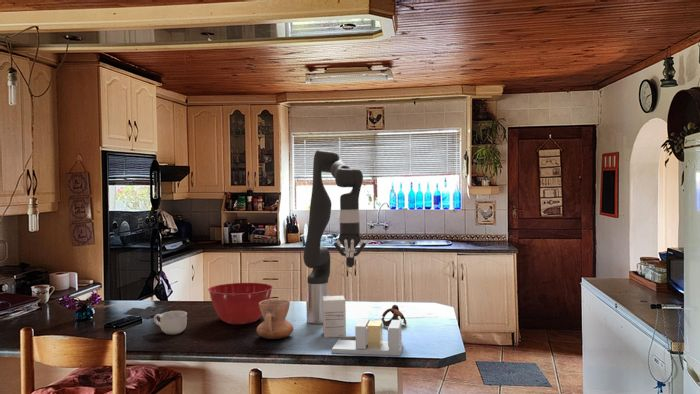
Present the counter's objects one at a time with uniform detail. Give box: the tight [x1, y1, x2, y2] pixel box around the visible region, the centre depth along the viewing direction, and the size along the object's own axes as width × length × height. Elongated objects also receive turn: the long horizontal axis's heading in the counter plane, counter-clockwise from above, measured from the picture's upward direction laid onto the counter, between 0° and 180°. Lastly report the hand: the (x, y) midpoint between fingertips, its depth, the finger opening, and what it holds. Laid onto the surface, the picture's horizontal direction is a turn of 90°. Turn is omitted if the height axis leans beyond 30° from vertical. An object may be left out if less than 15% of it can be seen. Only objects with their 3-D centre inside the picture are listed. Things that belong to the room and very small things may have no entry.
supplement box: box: [322, 295, 347, 339], centre depth 216 cm, size 9×9×15 cm
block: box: [368, 320, 384, 348], centre depth 195 cm, size 4×7×8 cm, turn 170°
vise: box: [331, 319, 404, 356], centre depth 195 cm, size 24×12×10 cm, turn 80°
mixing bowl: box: [207, 282, 273, 325], centre depth 240 cm, size 28×28×16 cm
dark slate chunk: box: [123, 306, 168, 320], centre depth 253 cm, size 15×22×5 cm
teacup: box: [153, 310, 188, 335], centre depth 223 cm, size 14×11×8 cm
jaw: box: [338, 317, 371, 349], centre depth 196 cm, size 10×12×8 cm
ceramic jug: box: [256, 298, 294, 340], centre depth 213 cm, size 18×14×14 cm
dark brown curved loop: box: [380, 304, 407, 327], centre depth 229 cm, size 12×9×8 cm
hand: (350, 267), depth 203 cm, fingers closed
